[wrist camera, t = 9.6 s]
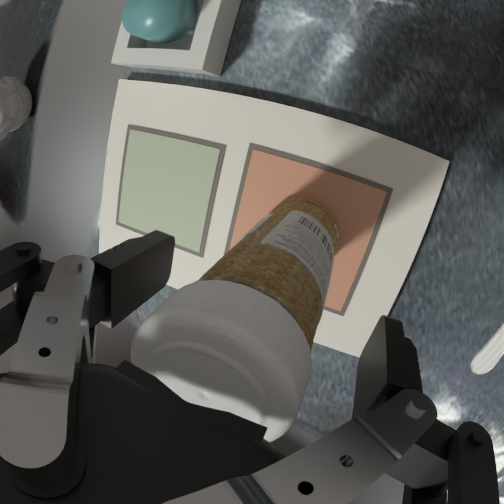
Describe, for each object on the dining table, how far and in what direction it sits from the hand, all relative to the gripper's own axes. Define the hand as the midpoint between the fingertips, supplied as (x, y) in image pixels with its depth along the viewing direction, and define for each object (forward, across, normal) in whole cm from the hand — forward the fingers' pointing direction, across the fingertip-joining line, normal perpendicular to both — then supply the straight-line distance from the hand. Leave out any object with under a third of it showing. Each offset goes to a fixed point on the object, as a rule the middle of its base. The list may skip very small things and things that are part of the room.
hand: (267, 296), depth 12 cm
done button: (+7, +11, -11) cm, 17 cm away
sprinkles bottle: (+9, 0, 0) cm, 9 cm away
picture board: (+9, +4, 0) cm, 10 cm away
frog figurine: (+9, +28, -4) cm, 30 cm away
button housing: (+9, +11, -11) cm, 18 cm away
